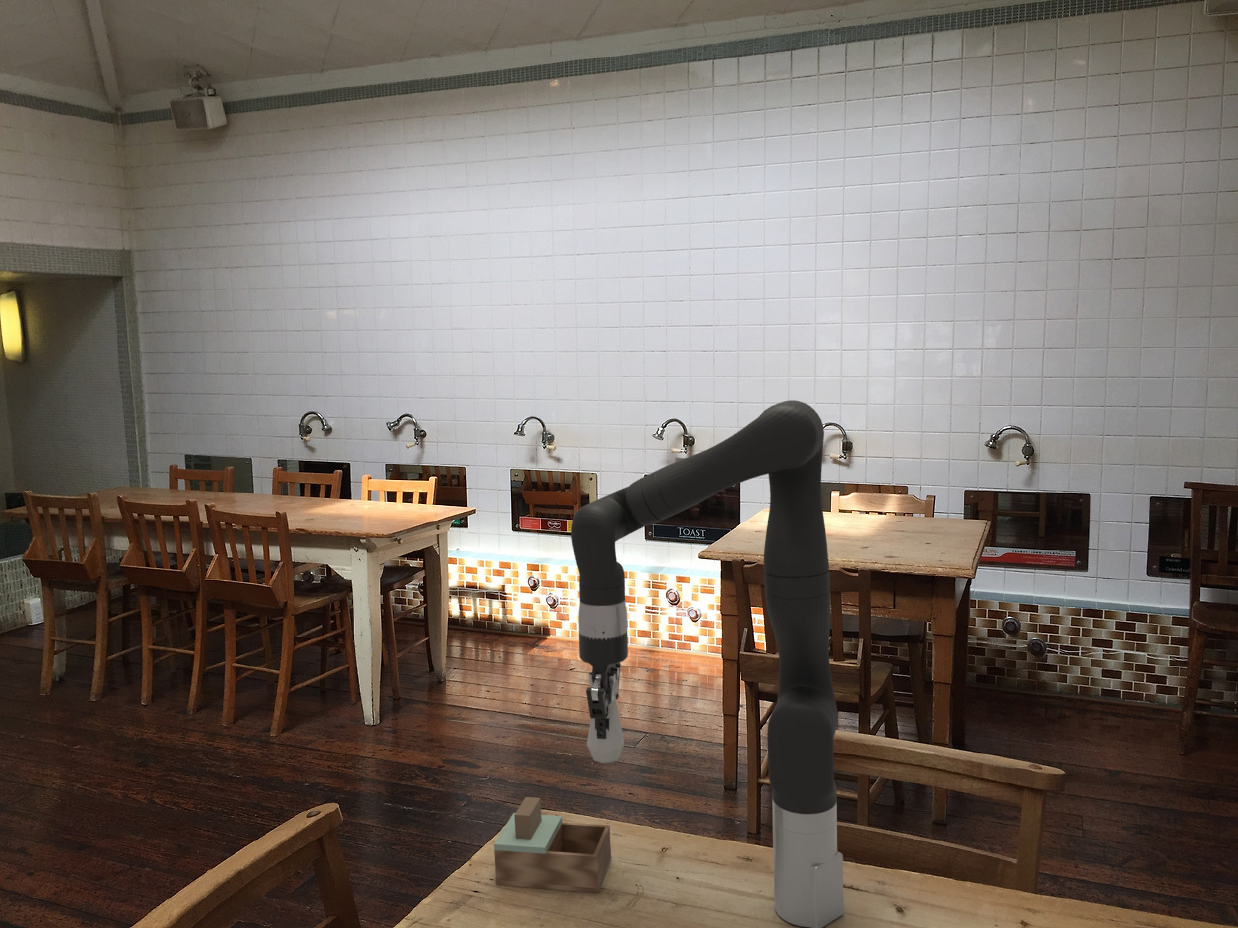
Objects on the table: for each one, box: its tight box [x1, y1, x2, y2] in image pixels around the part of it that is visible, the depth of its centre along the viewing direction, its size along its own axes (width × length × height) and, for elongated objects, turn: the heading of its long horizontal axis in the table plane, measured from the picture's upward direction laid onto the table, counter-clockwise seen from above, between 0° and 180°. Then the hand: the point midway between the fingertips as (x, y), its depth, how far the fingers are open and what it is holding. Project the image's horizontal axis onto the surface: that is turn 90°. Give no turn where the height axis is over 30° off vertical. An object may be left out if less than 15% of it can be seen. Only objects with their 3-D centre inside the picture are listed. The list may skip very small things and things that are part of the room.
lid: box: [493, 796, 563, 854], centre depth 151 cm, size 8×10×5 cm
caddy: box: [493, 821, 612, 894], centre depth 151 cm, size 17×10×6 cm, turn 78°
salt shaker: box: [586, 678, 625, 764], centre depth 146 cm, size 6×6×13 cm
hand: (605, 734), depth 146 cm, fingers closed on salt shaker, 3 cm apart
